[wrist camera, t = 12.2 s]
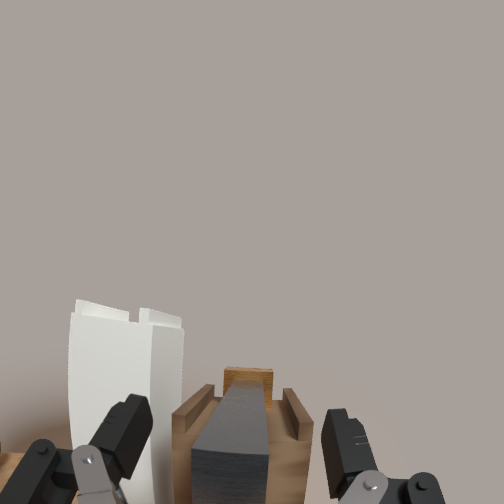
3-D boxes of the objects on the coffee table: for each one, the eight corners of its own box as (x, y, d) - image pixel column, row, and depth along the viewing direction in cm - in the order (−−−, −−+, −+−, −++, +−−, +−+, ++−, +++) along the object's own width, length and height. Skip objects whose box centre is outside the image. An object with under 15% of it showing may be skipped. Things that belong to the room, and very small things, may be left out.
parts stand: (183, 518, 27) (185, 317, 37) (163, 560, 16) (154, 309, 25) (125, 503, 28) (120, 310, 37) (92, 536, 16) (72, 298, 26)
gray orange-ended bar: (270, 402, 29) (272, 368, 30) (288, 509, 8) (297, 432, 9) (225, 399, 29) (227, 366, 30) (169, 498, 8) (166, 422, 9)
